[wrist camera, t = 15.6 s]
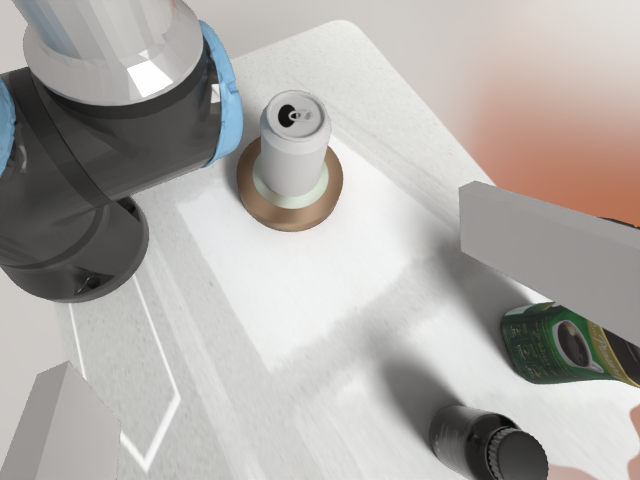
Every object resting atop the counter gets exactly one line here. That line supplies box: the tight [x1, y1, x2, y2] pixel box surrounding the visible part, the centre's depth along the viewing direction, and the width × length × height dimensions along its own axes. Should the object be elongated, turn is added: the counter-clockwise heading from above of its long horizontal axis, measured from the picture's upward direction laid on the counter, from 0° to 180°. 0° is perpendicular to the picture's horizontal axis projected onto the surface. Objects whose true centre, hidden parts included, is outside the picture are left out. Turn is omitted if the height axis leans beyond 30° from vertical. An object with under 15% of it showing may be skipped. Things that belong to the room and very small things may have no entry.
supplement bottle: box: [430, 405, 549, 480], centre depth 36 cm, size 7×7×12 cm
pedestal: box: [237, 136, 343, 232], centre depth 48 cm, size 14×14×3 cm
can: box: [260, 90, 332, 197], centre depth 41 cm, size 8×8×12 cm
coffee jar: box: [501, 302, 640, 388], centre depth 37 cm, size 10×8×19 cm
